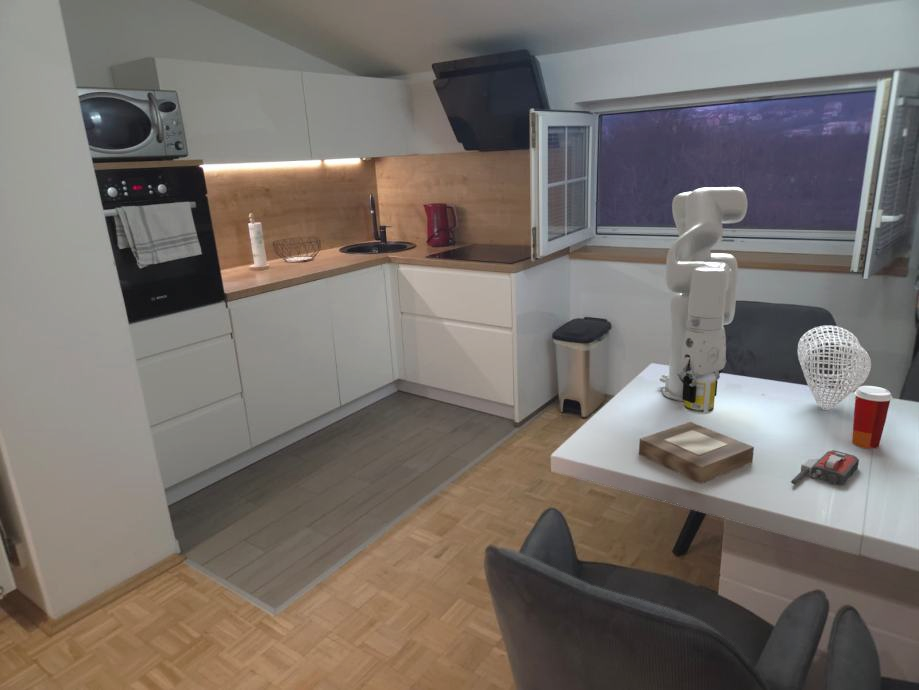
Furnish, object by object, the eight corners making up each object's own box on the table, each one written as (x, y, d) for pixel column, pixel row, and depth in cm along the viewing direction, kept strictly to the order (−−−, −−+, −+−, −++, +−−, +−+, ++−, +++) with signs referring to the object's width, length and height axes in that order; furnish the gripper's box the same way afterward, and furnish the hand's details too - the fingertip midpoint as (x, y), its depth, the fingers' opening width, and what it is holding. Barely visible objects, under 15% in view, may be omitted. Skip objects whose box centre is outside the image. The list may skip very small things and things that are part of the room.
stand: (638, 453, 153) (639, 437, 152) (689, 436, 162) (690, 421, 161) (700, 483, 138) (701, 466, 137) (752, 462, 147) (754, 446, 146)
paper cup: (877, 439, 157) (886, 386, 153) (888, 452, 150) (898, 397, 146) (842, 436, 159) (850, 384, 155) (851, 449, 152) (860, 394, 148)
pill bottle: (710, 405, 149) (714, 358, 146) (715, 416, 143) (720, 367, 140) (681, 404, 150) (685, 357, 147) (685, 414, 144) (689, 366, 141)
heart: (789, 390, 192) (797, 318, 186) (848, 395, 186) (859, 322, 180) (798, 424, 167) (809, 344, 161) (867, 432, 161) (880, 348, 155)
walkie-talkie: (818, 456, 150) (786, 486, 137) (821, 439, 149) (789, 468, 136) (860, 468, 144) (831, 501, 131) (863, 450, 143) (834, 481, 129)
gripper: (692, 331, 134) (686, 410, 138) (744, 320, 142) (737, 395, 147) (665, 325, 140) (660, 401, 145) (716, 314, 148) (710, 386, 153)
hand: (699, 397), depth 146 cm, fingers closed on pill bottle, 6 cm apart
